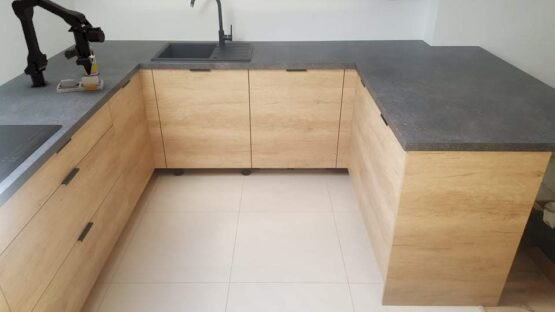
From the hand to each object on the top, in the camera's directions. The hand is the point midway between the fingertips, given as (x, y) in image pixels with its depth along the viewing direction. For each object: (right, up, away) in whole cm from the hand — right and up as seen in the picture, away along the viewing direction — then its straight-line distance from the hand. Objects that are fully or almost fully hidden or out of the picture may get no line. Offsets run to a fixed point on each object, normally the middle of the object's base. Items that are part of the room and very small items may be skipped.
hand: (89, 74), depth 194 cm
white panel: (0, -6, +3) cm, 6 cm away
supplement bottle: (-9, +5, +22) cm, 24 cm away
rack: (-5, -6, +2) cm, 8 cm away
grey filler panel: (-9, -7, 0) cm, 12 cm away
